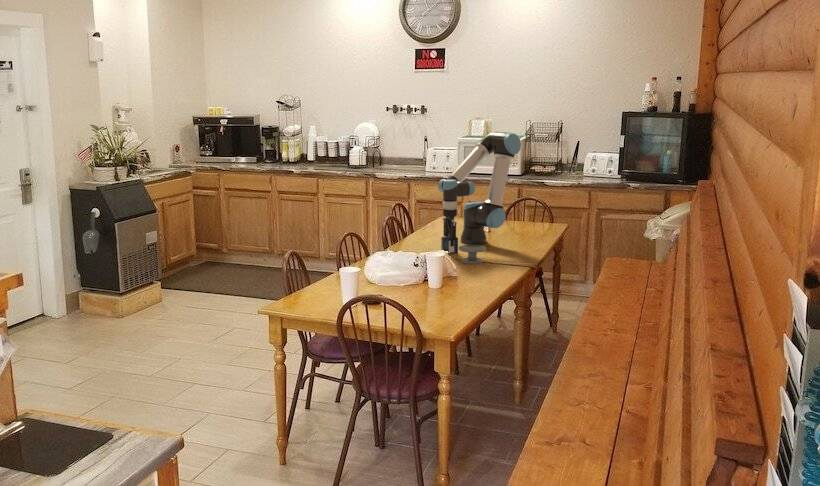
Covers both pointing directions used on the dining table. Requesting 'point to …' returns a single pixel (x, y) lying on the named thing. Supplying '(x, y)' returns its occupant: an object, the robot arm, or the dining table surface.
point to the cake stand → (472, 253)
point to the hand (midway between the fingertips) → (449, 250)
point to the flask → (446, 244)
